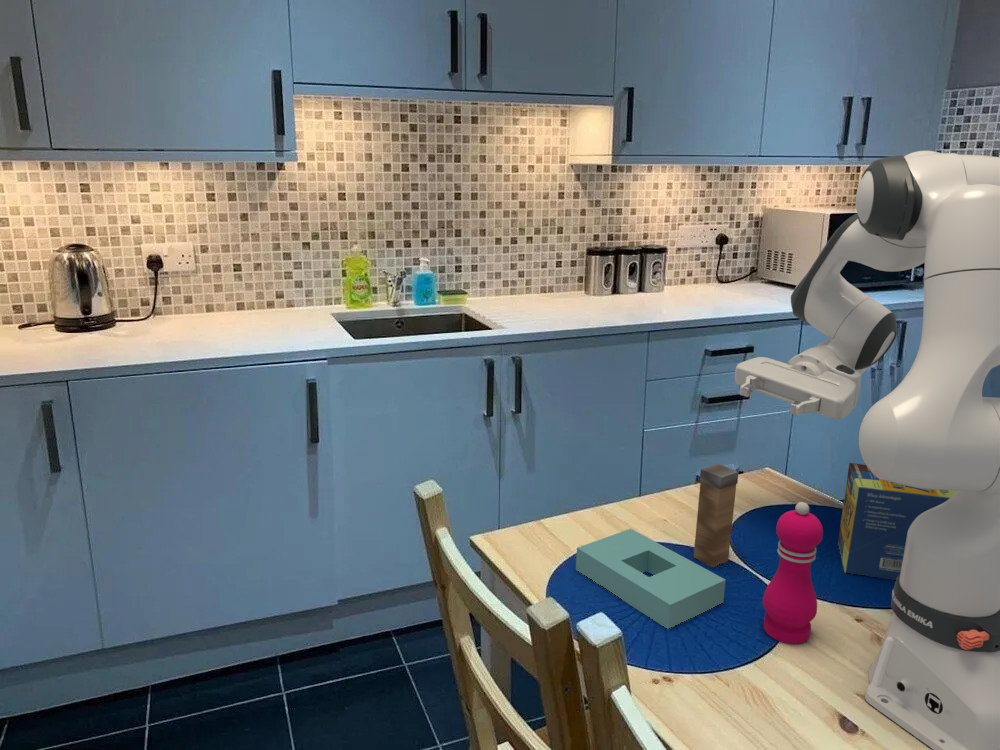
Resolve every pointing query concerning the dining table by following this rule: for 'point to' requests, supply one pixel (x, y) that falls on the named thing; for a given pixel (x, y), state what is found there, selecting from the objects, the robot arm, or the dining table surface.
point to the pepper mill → (793, 577)
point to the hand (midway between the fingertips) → (767, 401)
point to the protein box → (879, 521)
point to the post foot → (661, 596)
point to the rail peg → (715, 514)
